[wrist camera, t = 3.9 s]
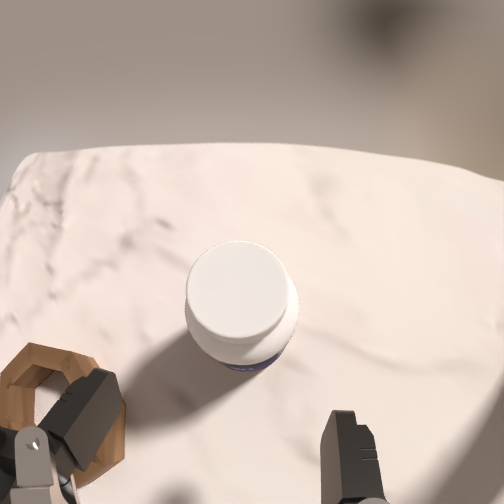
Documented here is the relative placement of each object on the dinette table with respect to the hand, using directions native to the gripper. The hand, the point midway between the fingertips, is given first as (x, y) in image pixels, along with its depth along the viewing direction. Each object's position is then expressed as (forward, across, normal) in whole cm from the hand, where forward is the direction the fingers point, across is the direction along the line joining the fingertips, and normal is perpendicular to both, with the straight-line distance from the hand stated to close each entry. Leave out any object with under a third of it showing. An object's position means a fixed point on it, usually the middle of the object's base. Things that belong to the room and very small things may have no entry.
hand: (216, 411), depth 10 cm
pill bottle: (+10, 0, +3) cm, 11 cm away
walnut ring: (+3, +12, +10) cm, 16 cm away
